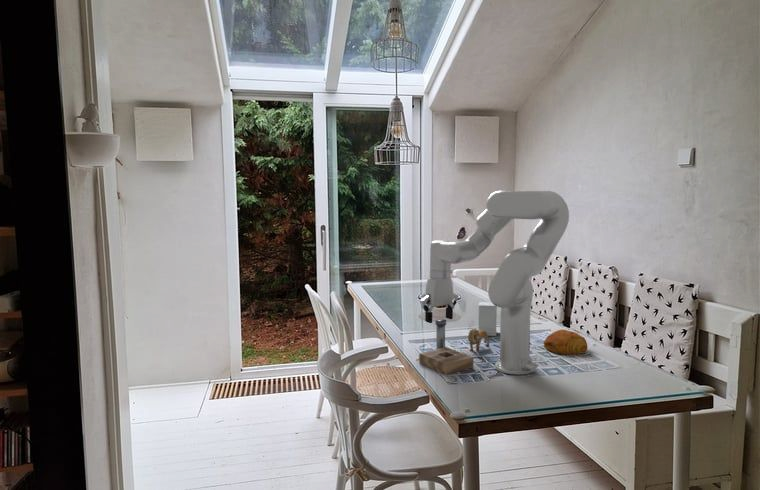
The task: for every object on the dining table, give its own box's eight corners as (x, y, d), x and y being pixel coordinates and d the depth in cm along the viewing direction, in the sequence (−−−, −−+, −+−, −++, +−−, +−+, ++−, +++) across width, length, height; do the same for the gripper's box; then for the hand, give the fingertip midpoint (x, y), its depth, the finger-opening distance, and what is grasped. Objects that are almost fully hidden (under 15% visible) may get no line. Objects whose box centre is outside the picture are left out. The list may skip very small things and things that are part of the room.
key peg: (448, 352, 189) (448, 320, 187) (440, 354, 186) (440, 322, 185) (441, 349, 192) (441, 318, 191) (433, 351, 190) (433, 320, 188)
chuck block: (473, 367, 172) (473, 356, 172) (446, 374, 166) (446, 363, 165) (445, 356, 184) (445, 346, 184) (419, 363, 177) (419, 352, 177)
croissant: (565, 347, 200) (564, 327, 201) (595, 353, 186) (594, 331, 186) (535, 351, 195) (533, 330, 195) (563, 357, 181) (561, 334, 181)
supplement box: (496, 336, 209) (496, 305, 208) (477, 335, 211) (478, 305, 209) (496, 331, 216) (496, 302, 215) (478, 330, 218) (478, 301, 217)
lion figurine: (479, 355, 185) (479, 331, 184) (465, 353, 187) (465, 329, 187) (491, 344, 198) (491, 321, 197) (477, 343, 200) (477, 320, 199)
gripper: (451, 270, 194) (450, 315, 196) (414, 275, 185) (414, 321, 187) (464, 273, 188) (463, 319, 190) (428, 278, 179) (427, 326, 181)
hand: (439, 320), depth 188 cm, fingers open, 9 cm apart
